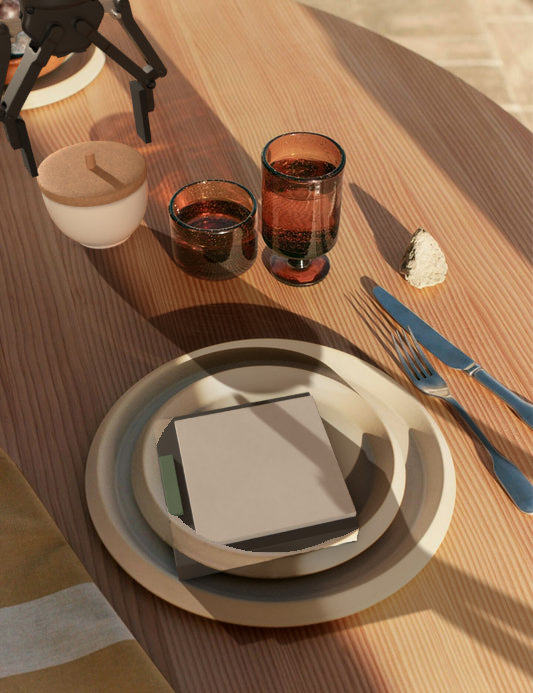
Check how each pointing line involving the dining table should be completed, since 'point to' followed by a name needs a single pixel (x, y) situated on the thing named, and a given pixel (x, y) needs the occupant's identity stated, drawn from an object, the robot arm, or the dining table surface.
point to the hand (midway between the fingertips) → (89, 154)
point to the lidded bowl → (95, 191)
